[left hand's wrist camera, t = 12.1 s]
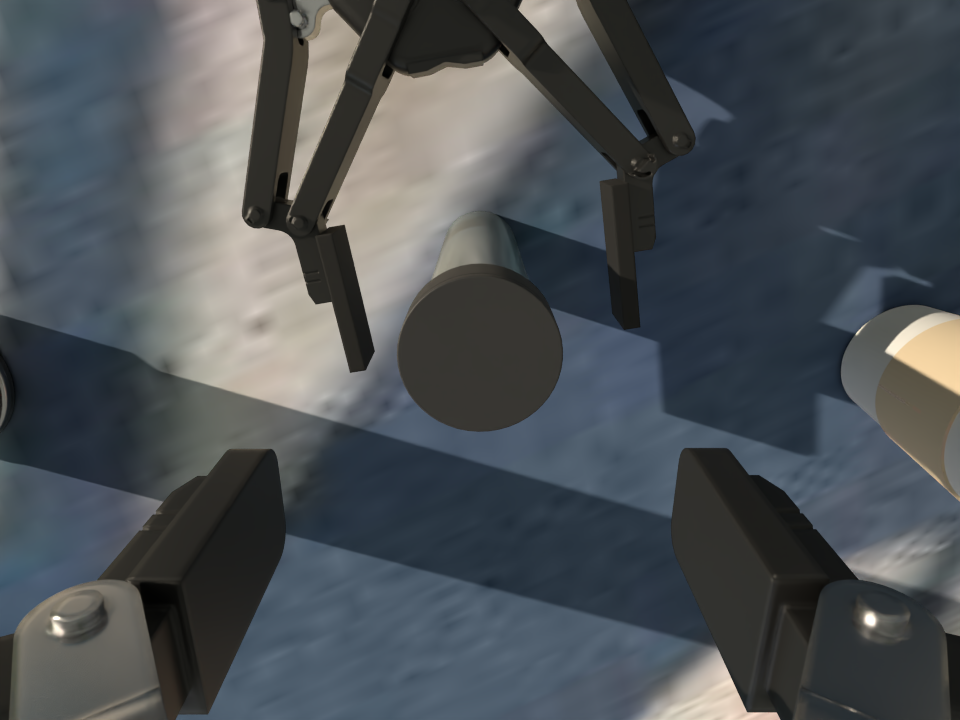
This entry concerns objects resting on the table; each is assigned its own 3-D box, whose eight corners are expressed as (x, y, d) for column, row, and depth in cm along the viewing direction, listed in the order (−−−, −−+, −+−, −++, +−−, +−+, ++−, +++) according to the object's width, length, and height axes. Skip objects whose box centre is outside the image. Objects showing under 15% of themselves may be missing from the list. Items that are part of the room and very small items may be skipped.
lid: (569, 389, 20) (576, 412, 19) (427, 421, 21) (422, 447, 19) (538, 246, 19) (544, 257, 17) (385, 283, 19) (375, 298, 18)
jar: (523, 274, 36) (560, 398, 19) (454, 290, 36) (432, 427, 19) (507, 202, 34) (532, 270, 18) (435, 220, 35) (394, 303, 18)
